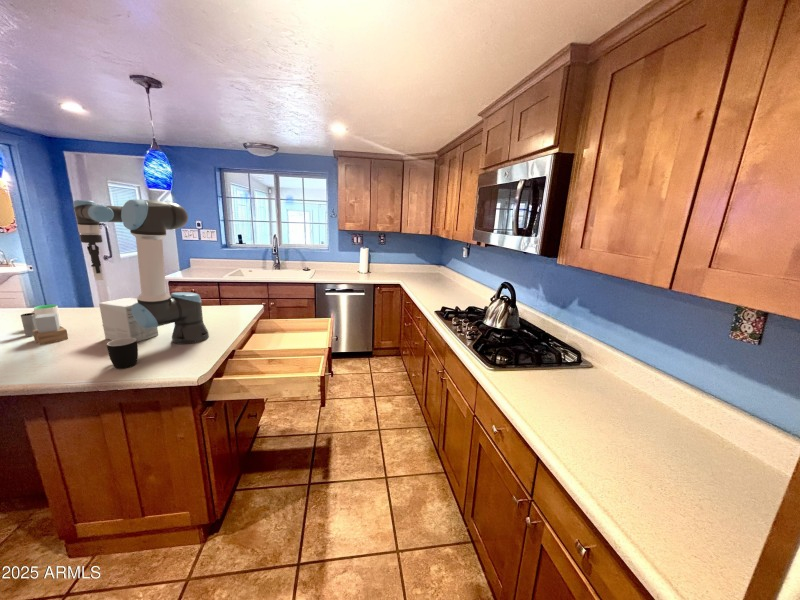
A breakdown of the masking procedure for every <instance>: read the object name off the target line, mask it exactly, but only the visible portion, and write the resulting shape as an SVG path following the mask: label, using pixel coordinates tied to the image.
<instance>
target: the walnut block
mask: <svg viewBox="0 0 800 600" xmlns="http://www.w3.org/2000/svg"><path fill="white" fill-rule="evenodd" d="M33 335H34V336H33V339H34V341H35V342H36V343H37V344H39V345H41V346H42V345H47V344H50V343H52V344H53V343H57V342H60V341H61V342H62V341H66V340H69V336H68V335H69V334H68V331H67V329H66V328H64V327H63V326H62V325H60V328H59V330H58V331H52V332H44V333H38V330H33Z"/></svg>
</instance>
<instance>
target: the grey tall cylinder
mask: <svg viewBox="0 0 800 600" xmlns="http://www.w3.org/2000/svg"><path fill="white" fill-rule="evenodd" d="M35 318H36V315H35V313H29V312H26V313H22V314H20V319H21V322H22V327H23V332H24V335H25V337H34V335H33V330H38V329H37V325H36V321H35Z"/></svg>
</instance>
